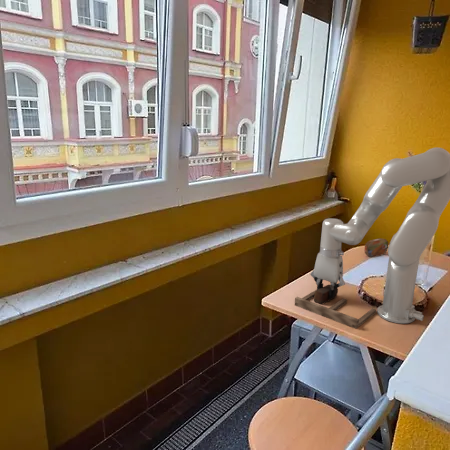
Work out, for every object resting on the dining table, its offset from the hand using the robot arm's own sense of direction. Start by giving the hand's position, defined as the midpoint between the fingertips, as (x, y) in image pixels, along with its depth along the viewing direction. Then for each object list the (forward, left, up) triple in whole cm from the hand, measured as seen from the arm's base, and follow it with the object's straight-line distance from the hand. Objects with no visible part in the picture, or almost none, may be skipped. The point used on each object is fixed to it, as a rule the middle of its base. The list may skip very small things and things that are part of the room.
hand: (325, 295), depth 155 cm
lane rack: (-6, +4, -2) cm, 8 cm away
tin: (+7, -64, -2) cm, 64 cm away
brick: (0, 0, -2) cm, 2 cm away
